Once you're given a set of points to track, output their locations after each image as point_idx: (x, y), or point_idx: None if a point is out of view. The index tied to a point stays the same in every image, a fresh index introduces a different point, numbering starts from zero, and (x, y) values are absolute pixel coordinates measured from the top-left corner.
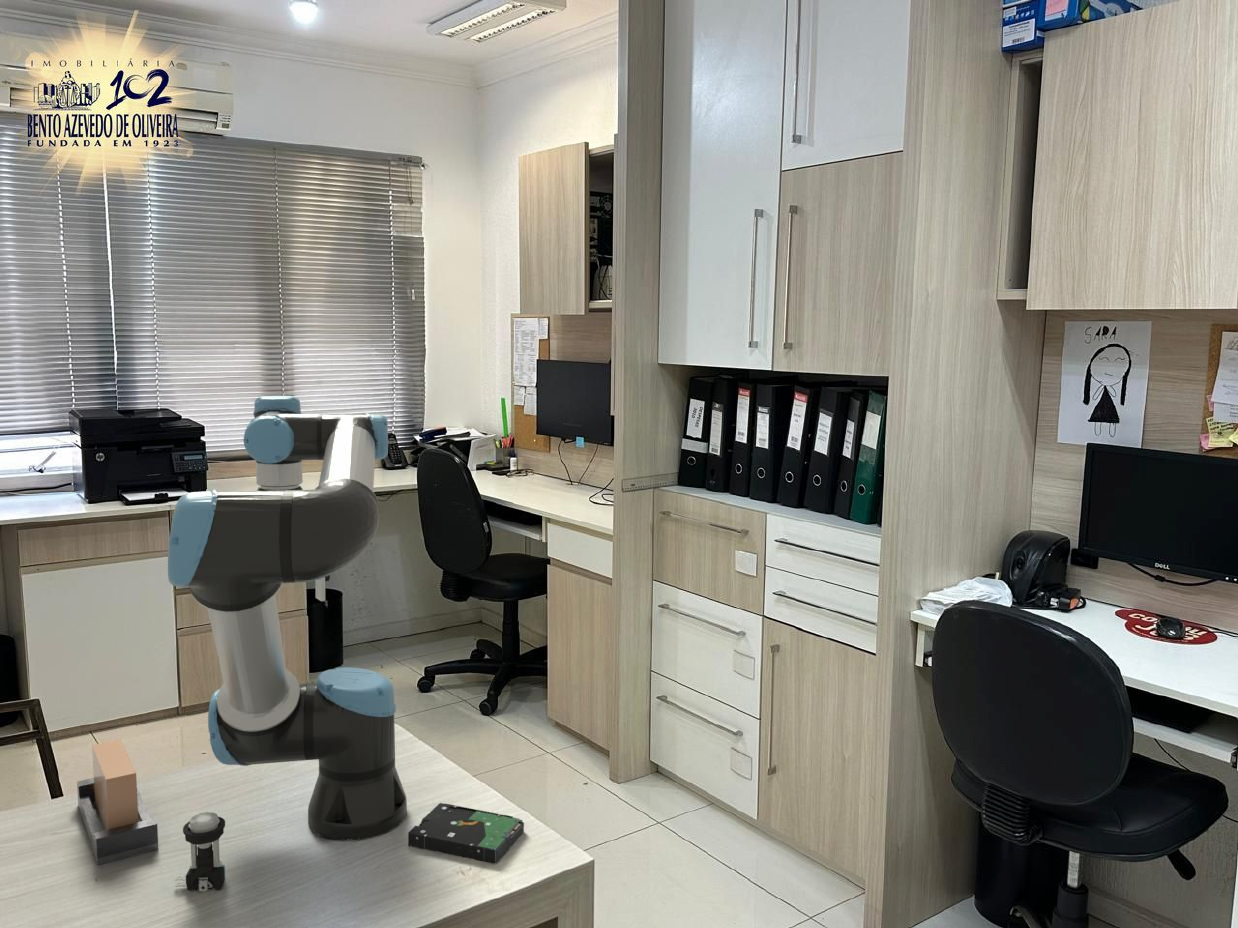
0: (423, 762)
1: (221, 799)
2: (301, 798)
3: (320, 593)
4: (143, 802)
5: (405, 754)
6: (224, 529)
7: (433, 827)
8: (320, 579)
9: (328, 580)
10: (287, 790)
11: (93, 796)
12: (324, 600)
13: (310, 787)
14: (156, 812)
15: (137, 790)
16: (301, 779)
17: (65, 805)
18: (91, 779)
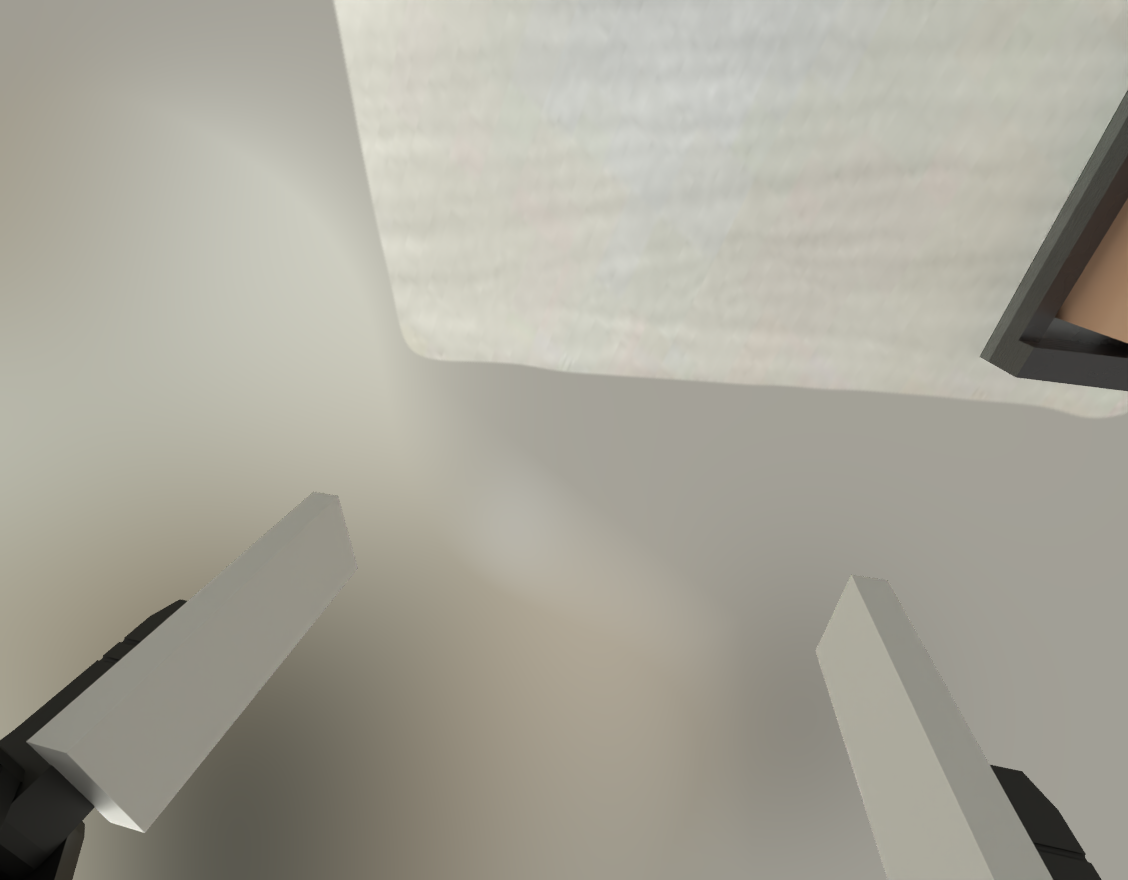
0: (380, 62)
1: (867, 182)
2: (717, 42)
3: (306, 539)
4: (1096, 206)
5: (406, 145)
6: None
7: None
8: (215, 621)
9: (178, 601)
10: (719, 124)
11: (1114, 348)
12: (317, 494)
13: (666, 102)
14: (1023, 213)
15: (1047, 292)
16: (662, 168)
17: None
18: (1126, 383)
